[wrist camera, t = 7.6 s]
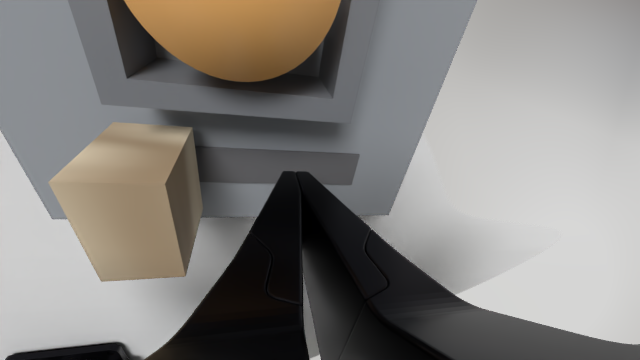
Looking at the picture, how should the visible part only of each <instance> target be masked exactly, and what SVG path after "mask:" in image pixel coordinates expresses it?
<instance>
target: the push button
mask: <svg viewBox="0 0 640 360" xmlns="http://www.w3.org/2000/svg"><path fill="white" fill-rule="evenodd" d="M124 1H125V3H126V4H127V6H128V7H129V9H130V10H131V12H132V13H133V15H134V16H135V17H136V18H137V20H138V21H139V22H140V24H141V25H142V26H143V27H144V28H145V30H146V31H147V32H148V33H149V34H150V35H151V36H152V37H153V38H154V39H155V40H156V41H157V42H158V43H159V44H160V45H162V46H163V47H164V48H165V49H166V50H167V51H168V52H170V53H171V54H172V55H174V56H175V57H177V58H178V59H179V60H181V61H182V62H184V63H186V64H187V65H189V66H191V67H193V68H194V69H196V70H199V71H201V72H203V73H206V74H208V75H210V76H214V77H217V78H220V79H224V80H230V81H236V82H255V81H263V80H267V79H272V78H275V77H277V76H280V75H283V74H285V73H287V72H289V71H290V70H292V69H294V68H296V67H297V66H298V65H300V64H301V63H302V62H304V61H305V60H306V59H307V58H308V57H309V56H310V55H311V54H312V53H313V52H314V51H315V50H316V49H317V47H318V46H319V45H320V44H321V42H322V41H323V39H324V38H325V36H326V34H327V33H328V31H329V29H330V27H331V25H332V23H333V21H334V19H335V17H336V14H337V11H338V8H339V5H340V2H341V0H124Z"/></svg>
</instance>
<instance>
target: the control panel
mask: <svg viewBox="0 0 640 360" xmlns="http://www.w3.org/2000/svg"><path fill="white" fill-rule="evenodd" d="M476 2H477V0H341V2H340V5H339V8H338V11H337V14H336V17H335V19H334V21H333V23H332V25H331V27H330V29H329V31H328V33H327V34H326V36H325V38H324V39H323V41H322V42H321V44H320V45H319V46H318V47H317V49H316V50H315V51H314V52H313V53H312V54H311V55H310V56H309V57H308V58H307V59H306V60H305V61H304V62H302V63H301V64H300V65H298V66H297V67H296V68H294V69H292V70H290V71H289V72H287V73H285V74H283V75H280V76H277V77H275V78H272V79H267V80H263V81H255V82H236V81H230V80H224V79H220V78H217V77H214V76H210V75H208V74H206V73H203V72H201V71H199V70H196V69H194V68H193V67H191V66H189V65H187V64H186V63H184V62H182V61H181V60H179V59H178V58H177V57H175V56H174V55H172V54H171V53H170V52H168V51H167V50H166V49H165V48H164V47H163V46H162V45H160V44H159V43H158V42H157V41H156V40H155V39H154V38H153V37H152V36H151V35H150V34H149V33H148V32H147V31H146V30H145V28H144V27H143V26H142V25H141V24H140V22H139V21H138V20H137V18H136V17H135V16H134V15H133V13H132V12H131V10H130V9H129V7H128V6H127V4H126V3H125V1H124V0H0V130H1V132H2V134H3V135H4V137H5V139H6V140H7V142H8V144H9V146H10V147H11V149H12V151H13V152H14V154H15V156H16V158H17V159H18V161H19V163H20V165H21V166H22V168H23V170H24V171H25V173H26V175H27V177H28V178H29V180H30V182H31V183H32V185H33V187H34V189H35V190H36V192H37V194H38V196H39V197H40V199H41V201H42V202H43V204H44V206H45V208H46V209H47V211H48V213H49V214H50V216H51V218H52V219H68V218H67V217H66V215H65V213H64V211H63V209H62V207H61V205H60V203H59V202H58V200H57V198H56V196H55V194H54V192H53V190H52V189H51V187H50V185H49V183H48V182H49V181H50V180H51V179H52V178H53V177H54V176H55V175H56V174H58V173H59V172H60V171H61V170H62V169H63V168H64V167H65V166H66V165H67V164H68V163H70V162H71V161H72V160H73V159H74V158H75V157H76V156H77V155H78V154H79V153H80V152H81V151H83V150H84V149H85V148H86V147H87V146H88V145H89V144H90V143H91V142H92V141H93V140H95V139H96V138H97V137H98V136H99V135H100V134H101V133H102V132H103V131H104V130H105V129H107V128H108V127H109V126H110V125H111V124H112V123H113V122H119V123H135V124H150V125H166V126H182V127H192V128H193V136H194V143H195V151H196V159H197V167H198V174H199V182H200V190H201V198H202V205H203V210H202V214H201V217H258V215H259V213H260V211H261V210H262V208H263V206H264V204H265V202H266V201H267V199H268V197H269V195H270V193H271V191H272V190H273V188H274V186H275V184H276V182H277V181H278V179H279V177H280V175H281V173H282V172H283V171H295V173H296V172H297V171H307V172H309V173H310V174H311V175H313V176H314V177H315V178H316V179H317V180H318V181H319V182H320V183H321V184H322V185H324V186H325V187H326V188H327V189H328V190H329V191H330V192H331V193H332V194H333V195H335V196H336V197H337V198H338V199H339V200H340V201H341V202H342V203H343V204H344V205H346V206H347V207H348V208H349V209H350V210H351V211H352V212H353V213H354V214H355V215H389V213H390V210H391V208H392V205H393V203H394V201H395V198H396V196H397V193H398V191H399V188H400V186H401V184H402V181H403V179H404V176H405V174H406V171H407V169H408V167H409V164H410V162H411V159H412V157H413V155H414V152H415V150H416V147H417V145H418V142H419V140H420V138H421V135H422V133H423V130H424V128H425V126H426V123H427V121H428V118H429V116H430V113H431V111H432V109H433V106H434V104H435V101H436V99H437V96H438V94H439V92H440V89H441V87H442V84H443V82H444V80H445V77H446V75H447V72H448V70H449V67H450V65H451V63H452V60H453V58H454V55H455V53H456V51H457V48H458V46H459V43H460V41H461V38H462V36H463V34H464V31H465V29H466V26H467V24H468V21H469V19H470V16H471V14H472V12H473V9H474V7H475V5H476Z"/></svg>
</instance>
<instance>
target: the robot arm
mask: <svg viewBox="0 0 640 360" xmlns="http://www.w3.org/2000/svg"><path fill="white" fill-rule="evenodd" d="M303 274H304V279H305V284H306V289H307V294H308V298H309V303H310V308H311V313H312V318H313V323H314V328H315V332H316V337H317V342H318V347H319V352H320V356H321V360H640V344H638V345H632V344H622V343H616V342H611V341H605V340H601V339H596V338H592V337H588V336H584V335H580V334H576V333H573V332H568V331H565V330H561V329H557V328H553V327H550V326H546V325H542V324H538V323H534V322H531V321H527V320H523V319H519V318H515V317H512V316H508V315H504V314H500V313H496V312H493V311H489V310H485V309H482V308H479V307H476V306H474V305H472V304H470V303H467V302H465V301H464V300H462V299H460V298H458V297H457V296H455V295H454V294H453V293H451V292H450V291H448V290H447V289H446V288H444V287H443V286H442V285H441V284H439V283H438V282H437V281H435V280H434V279H433V278H431V277H430V276H429V275H427V274H426V273H425V272H423V271H422V270H421V269H419V268H418V267H417V266H415V265H414V264H413V263H411V262H410V261H409V260H408V259H406V258H405V257H404V256H403V255H401V254H400V253H399V252H397V251H396V250H395V249H394V248H393V247H391V246H390V245H389V244H388V243H387V242H386V241H384V240H383V239H382V238H381V237H380V236H379V235H378V234H377V233H375V232H374V231H373V230H371V228H370V227H369V226H368V225H367V224H365V223H364V222H363V221H362V220H361V219H360V218H359V217H358V216H357V215H355V214H354V213H353V212H352V211H351V210H350V209H349V208H348V207H347V206H346V205H344V204H343V203H342V202H341V201H340V200H339V199H338V198H337V197H336V196H335V195H333V194H332V193H331V192H330V191H329V190H328V189H327V188H326V187H325V186H324V185H322V184H321V183H320V182H319V181H318V180H317V179H316V178H315V177H314V176H313V175H311V174H310V173H309V172H307V171H297V172H296V173H295V171H283V172H282V173H281V175H280V177H279V179H278V181H277V182H276V184H275V186H274V188H273V190H272V191H271V193H270V195H269V197H268V199H267V201H266V202H265V204H264V206H263V208H262V210H261V211H260V213H259V215H258V217H257V219H256V221H255V222H254V224H253V226H252V228H251V230H250V231H249V234H248V235H247V237H246V238H245V240H244V242H243V244H242V246H241V247H240V249H239V250H238V252H237V254H236V255H235V257H234V259H233V260H232V261H231V263H230V264H229V266H228V267H227V268H226V270H225V271H224V273H223V274H222V275H221V277H220V278H219V279H218V281H217V282H216V283H215V285H214V286H213V287H212V289H211V290H210V291H209V292H208V294H207V295H206V296H205V298H204V299H203V300H202V302H201V303H200V304H199V306H198V307H197V308H196V310H195V311H194V312H193V314H192V315H191V316H190V317H189V319H188V320H187V321H186V323H185V324H184V325H183V326H182V327H181V328H180V330H179V331H178V332H177V333H176V334H175V335H174V336H173V337H172V338H171V339H170V340H169V341H168V342H167V343H166V344H164V345H163V346H162V347H161V348H160V349H158V350H157V351H156V352H154V353H153V354H151V355H150V356H149V357H147V358H146V359H144V360H309V355H308V349H307V344H306V339H305V333H304V319H303ZM5 360H129V359H128V357H127V356H126V354H125V352H124V351H123V349H122V347H121V346H120V345H118V344H107V345H98V346H89V347H80V348H71V349H62V350H53V351H44V352H35V353H26V354H17V355H10V356H8V357H7V358H6V359H5Z"/></svg>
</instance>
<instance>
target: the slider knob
mask: <svg viewBox="0 0 640 360" xmlns="http://www.w3.org/2000/svg"><path fill="white" fill-rule="evenodd" d="M48 183H49V185H50V187H51V189H52V190H53V192H54V194H55V196H56V198H57V200H58V202H59V203H60V205H61V207H62V209H63V211H64V213H65V215H66V217H67V218H68V220H69V222H70V224H71V226H72V228H73V230H74V232H75V233H76V235H77V237H78V239H79V241H80V243H81V245H82V247H83V248H84V250H85V252H86V254H87V256H88V258H89V260H90V262H91V263H92V265H93V267H94V269H95V271H96V273H97V275H98V277H99V278H100V280H101V282H103V281H119V280H135V279H152V278H168V277H184V276H186V273H187V269H188V265H189V261H190V257H191V253H192V249H193V245H194V242H195V238H196V234H197V230H198V226H199V222H200V218H201V214H202V210H203V205H202V198H201V190H200V182H199V174H198V167H197V159H196V151H195V143H194V136H193V128H192V127H182V126H166V125H150V124H135V123H119V122H113V123H112V124H111V125H110V126H109V127H108V128H107V129H105V130H104V131H103V132H102V133H101V134H100V135H99V136H98V137H97V138H96V139H95V140H93V141H92V142H91V143H90V144H89V145H88V146H87V147H86V148H85V149H84V150H83V151H81V152H80V153H79V154H78V155H77V156H76V157H75V158H74V159H73V160H72V161H71V162H70V163H68V164H67V165H66V166H65V167H64V168H63V169H62V170H61V171H60V172H59V173H58V174H56V175H55V176H54V177H53V178H52V179H51V180H50V181H49V182H48Z"/></svg>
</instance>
